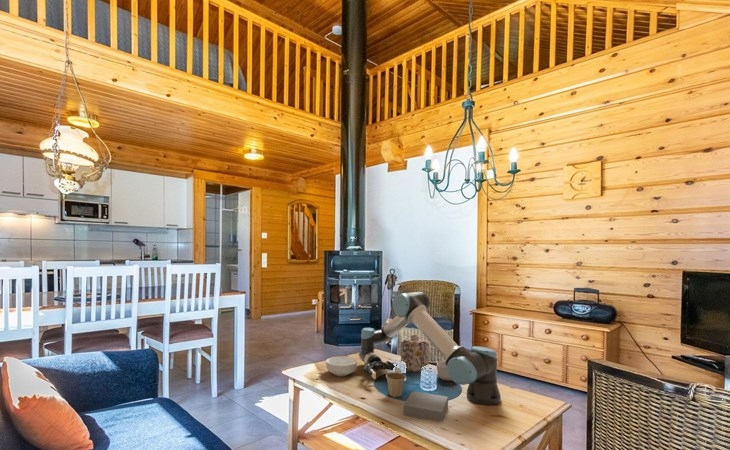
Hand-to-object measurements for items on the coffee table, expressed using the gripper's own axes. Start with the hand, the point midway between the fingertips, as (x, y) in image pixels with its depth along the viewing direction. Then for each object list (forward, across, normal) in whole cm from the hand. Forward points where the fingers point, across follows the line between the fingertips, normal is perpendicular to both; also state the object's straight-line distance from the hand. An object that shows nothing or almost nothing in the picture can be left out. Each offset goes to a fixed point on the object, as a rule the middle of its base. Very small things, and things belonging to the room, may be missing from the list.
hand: (387, 374), depth 189 cm
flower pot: (+10, 0, -6) cm, 11 cm away
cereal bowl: (-24, +17, -6) cm, 31 cm away
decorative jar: (-23, -26, -6) cm, 36 cm away
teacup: (-3, -35, -6) cm, 36 cm away
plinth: (+29, -6, -6) cm, 30 cm away
